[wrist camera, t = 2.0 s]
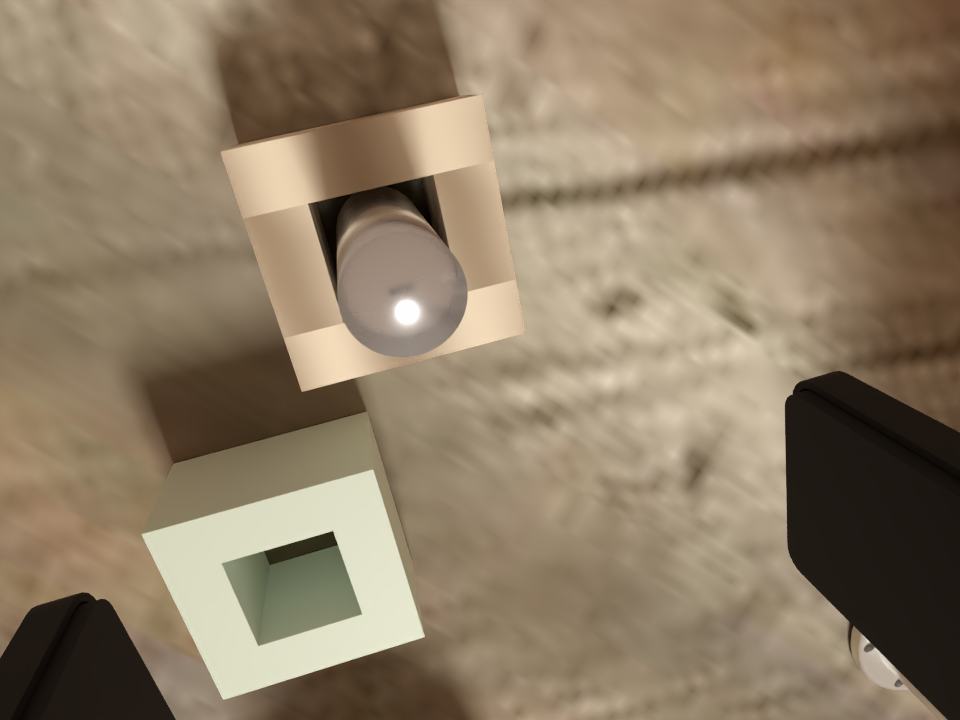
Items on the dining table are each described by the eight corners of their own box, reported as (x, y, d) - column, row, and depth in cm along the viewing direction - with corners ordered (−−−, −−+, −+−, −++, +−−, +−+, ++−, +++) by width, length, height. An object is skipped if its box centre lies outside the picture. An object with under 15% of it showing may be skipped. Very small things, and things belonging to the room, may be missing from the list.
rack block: (367, 411, 34) (373, 469, 29) (411, 560, 38) (424, 636, 33) (173, 463, 33) (141, 534, 28) (239, 612, 37) (223, 699, 32)
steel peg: (410, 177, 31) (452, 217, 20) (429, 259, 32) (479, 339, 21) (326, 197, 30) (321, 249, 19) (349, 279, 32) (357, 371, 21)
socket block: (459, 95, 30) (481, 94, 25) (499, 302, 34) (525, 332, 29) (238, 144, 29) (220, 151, 24) (306, 351, 33) (301, 391, 28)
